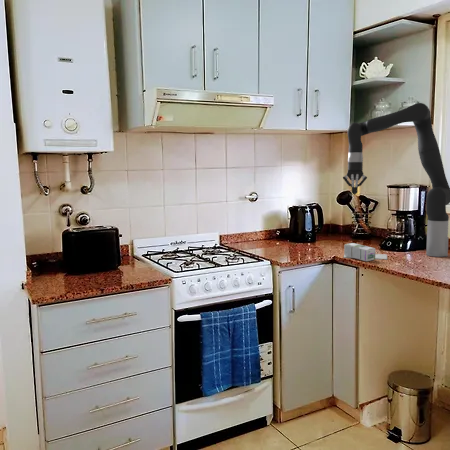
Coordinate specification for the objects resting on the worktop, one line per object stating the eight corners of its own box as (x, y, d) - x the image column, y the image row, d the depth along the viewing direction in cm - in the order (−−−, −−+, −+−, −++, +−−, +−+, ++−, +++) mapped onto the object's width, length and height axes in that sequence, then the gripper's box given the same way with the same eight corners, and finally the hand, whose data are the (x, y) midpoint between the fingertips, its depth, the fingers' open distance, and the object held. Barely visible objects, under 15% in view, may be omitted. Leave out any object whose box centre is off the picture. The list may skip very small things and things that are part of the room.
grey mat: (386, 255, 232) (386, 254, 232) (387, 259, 221) (387, 258, 221) (345, 253, 238) (345, 252, 238) (343, 257, 227) (343, 256, 227)
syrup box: (343, 255, 229) (366, 262, 217) (344, 243, 228) (367, 250, 215) (352, 253, 232) (375, 260, 220) (352, 241, 231) (375, 248, 218)
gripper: (368, 161, 250) (367, 193, 252) (343, 161, 254) (342, 193, 257) (368, 161, 243) (367, 194, 245) (341, 161, 247) (341, 194, 249)
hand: (354, 194), depth 251 cm, fingers closed
